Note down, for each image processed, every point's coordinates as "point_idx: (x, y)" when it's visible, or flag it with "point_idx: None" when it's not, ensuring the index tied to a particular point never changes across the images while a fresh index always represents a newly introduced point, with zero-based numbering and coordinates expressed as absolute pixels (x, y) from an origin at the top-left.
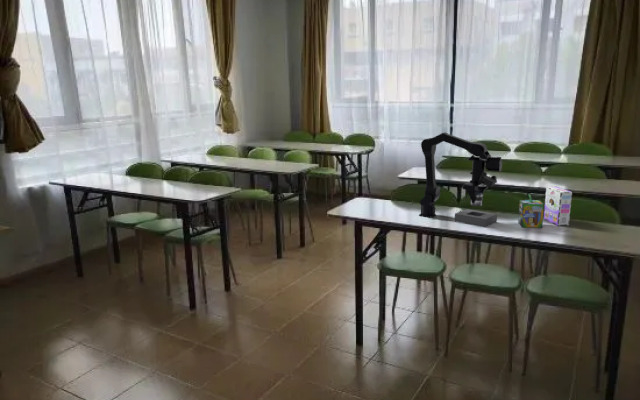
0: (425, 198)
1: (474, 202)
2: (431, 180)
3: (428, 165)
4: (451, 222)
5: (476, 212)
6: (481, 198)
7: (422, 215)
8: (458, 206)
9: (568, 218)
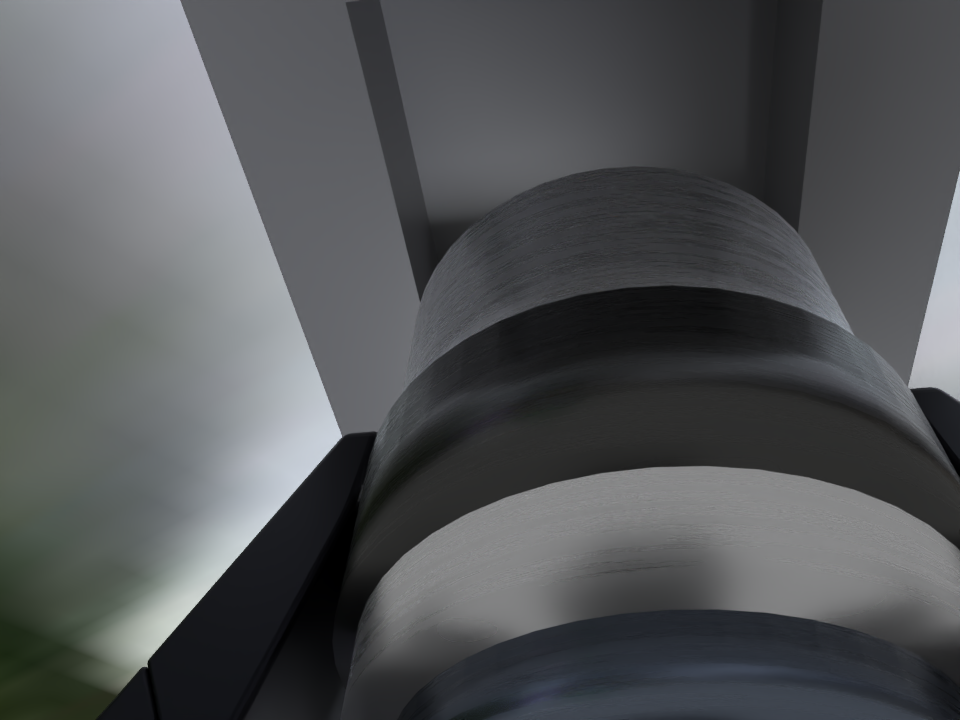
0: None
1: (936, 394)
2: None
3: None
4: (938, 355)
5: (414, 271)
6: (729, 368)
7: None
8: (67, 677)
9: None
